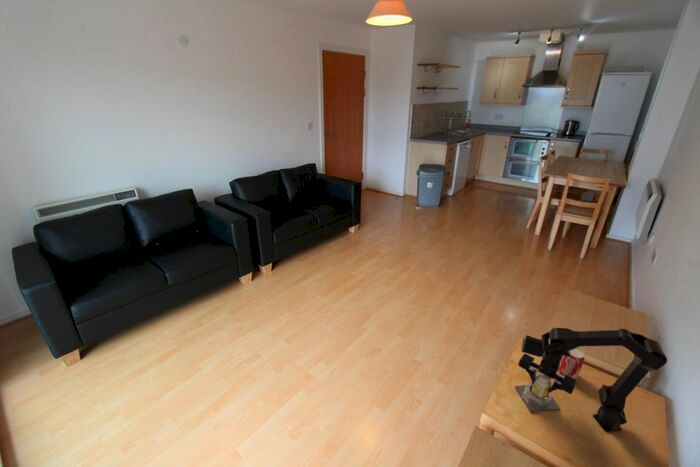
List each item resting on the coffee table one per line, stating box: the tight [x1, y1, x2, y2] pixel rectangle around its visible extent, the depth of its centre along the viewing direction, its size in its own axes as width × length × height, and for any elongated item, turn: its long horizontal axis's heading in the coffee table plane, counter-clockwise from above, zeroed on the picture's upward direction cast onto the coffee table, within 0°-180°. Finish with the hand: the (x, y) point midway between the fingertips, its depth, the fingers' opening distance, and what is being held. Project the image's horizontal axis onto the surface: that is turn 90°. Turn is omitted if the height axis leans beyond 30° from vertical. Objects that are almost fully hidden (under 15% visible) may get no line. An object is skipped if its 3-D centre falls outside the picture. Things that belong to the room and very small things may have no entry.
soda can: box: [558, 347, 586, 380], centre depth 139 cm, size 7×7×13 cm
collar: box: [514, 381, 561, 413], centre depth 130 cm, size 11×12×4 cm
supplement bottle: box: [532, 372, 552, 398], centre depth 127 cm, size 5×5×10 cm
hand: (540, 387), depth 128 cm, fingers closed on supplement bottle, 5 cm apart
